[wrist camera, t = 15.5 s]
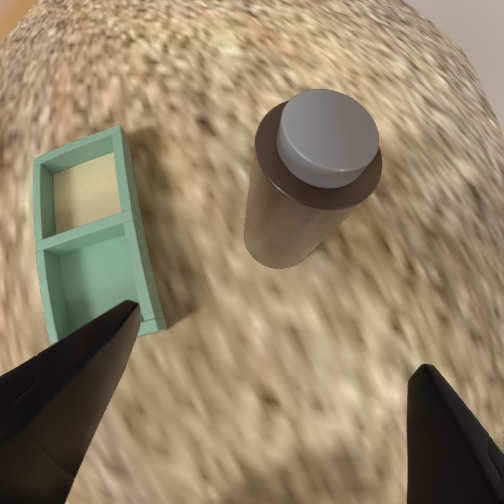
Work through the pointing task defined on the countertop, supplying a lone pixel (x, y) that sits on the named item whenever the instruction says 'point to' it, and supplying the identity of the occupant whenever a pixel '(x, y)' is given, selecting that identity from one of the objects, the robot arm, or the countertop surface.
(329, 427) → the countertop surface
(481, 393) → the countertop surface
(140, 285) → the caddy
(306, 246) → the pepper mill
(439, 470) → the robot arm
